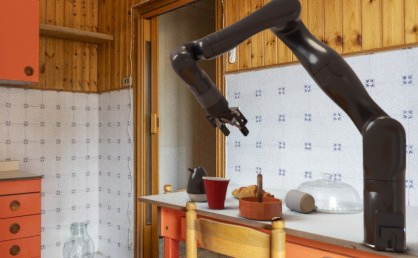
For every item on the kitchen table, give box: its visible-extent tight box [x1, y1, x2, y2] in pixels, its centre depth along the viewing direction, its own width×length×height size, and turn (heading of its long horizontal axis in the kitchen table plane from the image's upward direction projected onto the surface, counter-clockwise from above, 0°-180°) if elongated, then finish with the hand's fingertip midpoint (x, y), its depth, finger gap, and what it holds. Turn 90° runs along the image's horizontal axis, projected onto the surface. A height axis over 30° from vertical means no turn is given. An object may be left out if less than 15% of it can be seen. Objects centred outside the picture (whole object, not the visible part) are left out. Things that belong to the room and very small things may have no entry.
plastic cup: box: [203, 176, 231, 210], centre depth 156 cm, size 11×11×12 cm
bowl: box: [238, 196, 283, 222], centre depth 139 cm, size 14×14×6 cm
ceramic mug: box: [284, 189, 318, 214], centre depth 148 cm, size 11×8×8 cm
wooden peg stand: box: [256, 173, 264, 203], centre depth 139 cm, size 5×5×14 cm
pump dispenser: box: [185, 165, 209, 203], centre depth 172 cm, size 10×10×15 cm
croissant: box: [231, 184, 275, 199], centre depth 174 cm, size 21×10×8 cm, turn 40°
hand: (237, 134), depth 134 cm, fingers open, 8 cm apart
